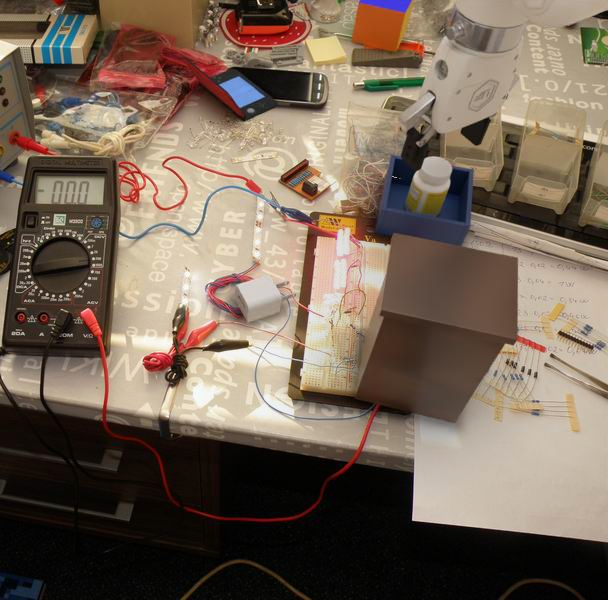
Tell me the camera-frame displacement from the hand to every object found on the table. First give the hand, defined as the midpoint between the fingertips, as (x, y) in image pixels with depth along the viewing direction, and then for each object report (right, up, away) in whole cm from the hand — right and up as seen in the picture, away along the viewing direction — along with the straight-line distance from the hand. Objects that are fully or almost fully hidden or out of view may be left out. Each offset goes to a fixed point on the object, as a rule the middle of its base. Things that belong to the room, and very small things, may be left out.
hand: (440, 151), depth 84 cm
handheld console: (-26, +13, +25) cm, 38 cm away
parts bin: (0, -7, +9) cm, 12 cm away
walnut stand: (-6, -28, -7) cm, 30 cm away
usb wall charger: (-22, -20, 0) cm, 30 cm away
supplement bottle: (0, -7, +9) cm, 11 cm away
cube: (+1, +28, +36) cm, 46 cm away
